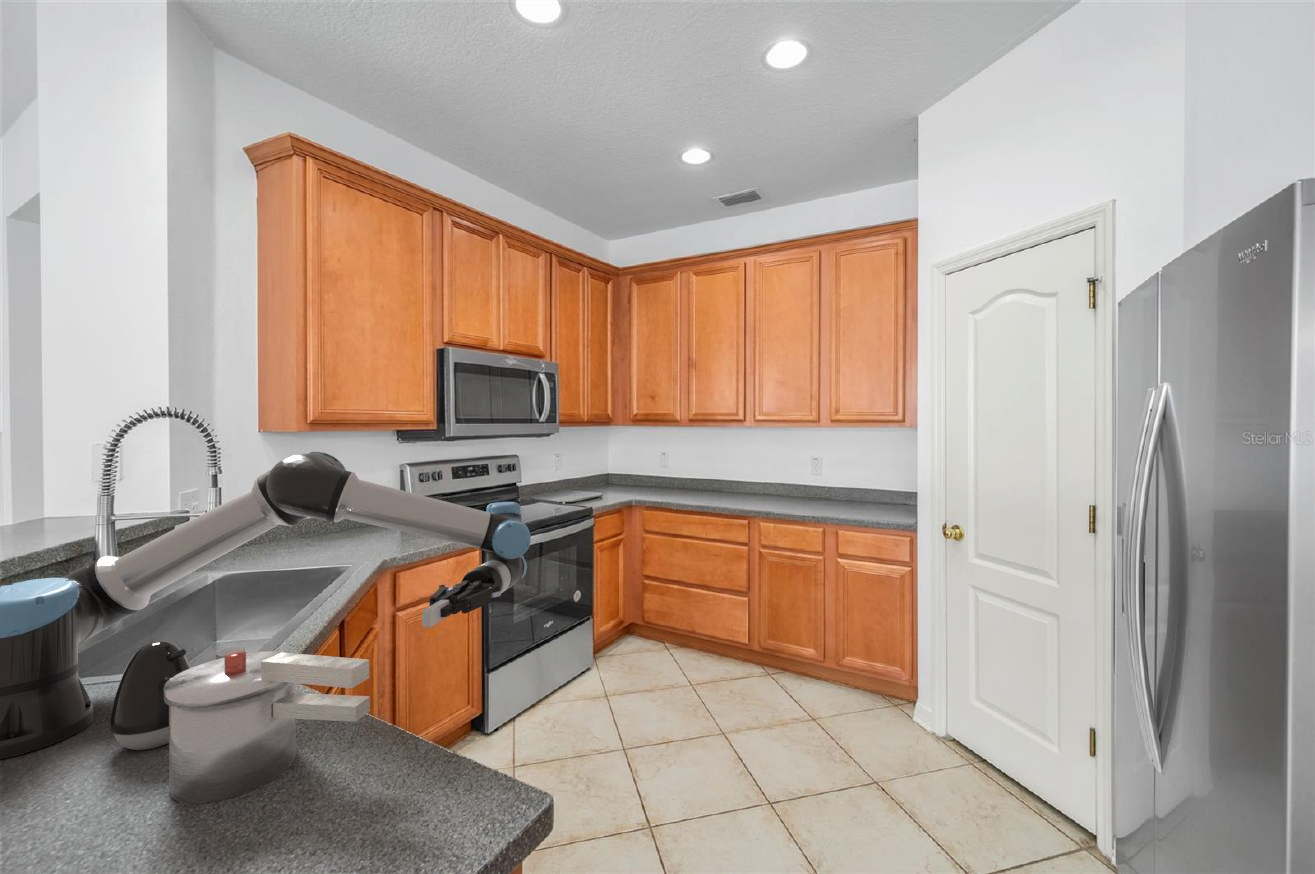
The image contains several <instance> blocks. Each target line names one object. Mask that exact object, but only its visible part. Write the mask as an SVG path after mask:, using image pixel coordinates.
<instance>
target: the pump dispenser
mask: <svg viewBox="0 0 1315 874" xmlns="http://www.w3.org/2000/svg"><path fill="white" fill-rule="evenodd" d="M186 654H187V650H186V648H181V649H180V647H178V646H177V645H176V644H175V643H173V642H171V641H167V640H157V641H152V642H150V643H147V644H144V645H143V646H141V647H140V648H139V649H138V650H137V651H136V652H135V653H134V655H133V656H132V657H131V659H130V660H129V661H128V664H127V665H126V667H125V669H124V671H123V673H122V676H121V679H120V681H119V684H118V687H117V689H116V693H115V695H114V699H113V702H112V703H113V704H112V708H111V713H110V720H109V730H110V732H111V733H112V734H113V736H114V739H115V740H116V742H117V743H118V744H119V746H121V747H124V748H125V749H129V750H134V751H143V750H144V751H145V750H151V749H152V750H153V749H155V748H158V747H159V748H160V747H162V746H165V745H168V744H169V705H167V704H166V703H165V702H164V685H165V684H166V682H167V681H168V680H170V679H171V678H172V677H174V676H176V675H177V674H179V673H181V672H183V671H185V670H188V669H190V668H191V666H190V663H189V661H188V659H187V657H186Z"/></svg>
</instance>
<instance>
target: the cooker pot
mask: <svg viewBox="0 0 1315 874" xmlns="http://www.w3.org/2000/svg"><path fill="white" fill-rule="evenodd" d="M369 712H371V697H370V695H369V696H368V695H347V694H330V693H329V694H327V693H323V694H322V693H304V692H303V693H301V692H296V683H289V682H288V683H287V684H285V685H283V686H282V687H280V688H277V689H275V690H273V691H271V692H268V693H265V694H263V695H260V696H257V697H254V698H250V699H247V700H243V701H239V702H235V703H231V704H226V705H220V706H214V707H205V708H177V707H172V706H169V743H168V753H169V754H168V758H169V759H168V760H169V761H168V765H169V766H168V772H169V773H168V783H169V785H168V786H169V787H168V788H169V789H168V791H169V796H170V798H171V799H173V800H174V801H177V802H178V803H182V804H192V805H193V804H195V805H196V804H206V803H207V804H208V803H214V802H218V801H223V800H227V799H231V798H235V797H238V796H241V795H243V794H246V793H249V792H251V791H254V790H257V789H259V788H260V786H261V787H263V786H264V785H267V784H269V783H270V782H272V781H274V780H276V779H277V778H278V777H280V776H281V775H283V774H284V773H285V772H286V771H288V769H289V768H290V767H291V766H292V765H293V764H294V762H295V760H296V755H297V754H296V753H297V752H296V751H297V749H296V747H297V746H296V745H297V742H296V741H297V739H296V737H297V736H296V729H297V728H296V724H297V723H296V721H297V720H299V719H300V720H314V721H316V720H317V721H333V722H335V721H337V722H351V723H352V722H353V723H354V722H355V723H356V722H358V721H359V720H360V719H362V718H363V717H364V716H365V715H367V713H369ZM296 719H297V720H296ZM284 771H285V772H284ZM271 780H272V781H271Z"/></svg>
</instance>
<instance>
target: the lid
mask: <svg viewBox="0 0 1315 874" xmlns="http://www.w3.org/2000/svg"><path fill="white" fill-rule="evenodd" d="M369 678H370V659H367V658H356V657H344V656H342V657H341V656H340V657H339V656H332V655H321V654H320V655H318V654H308V653H307V654H304V653H292V652H288V651H277V650H275V651H274V650H273V651H271V650H270V651H257V652H256V651H255V652H249V653H247V652H246V650H245V651H238V652H233V653H229V654H227V655H225V658H221V659H217V660H216V659H214V660H211V661H207V662H204V663H200V664H198V665H196V666H195V665H194V666H193V667H190V669H188V670H185V671H183V672H181V673H179V674H177V675H176V676H174V677H172V678H171V679H170V680H168V681H167V682H166V684H165V685H164V702H165V703H166V704H167V705H169V706H172V707H177V708H205V707H214V706H220V705H226V704H231V703H235V702H239V701H243V700H247V699H250V698H254V697H257V696H260V695H263V694H265V693H268V692H271V691H273V690H275V689H277V688H280V687H282V686H283V685H285V684H287V683H288V682H289V683H295V684H299V685H300V684H302V685H310V686H311V685H312V686H321V687H323V686H324V687H330V688H331V687H333V688H343V689H344V688H345V689H354V688H355V687H357V686H358V685H360V684H362V683H364V682H365V681H367V680H368V679H369Z"/></svg>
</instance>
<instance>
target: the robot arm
mask: <svg viewBox="0 0 1315 874" xmlns="http://www.w3.org/2000/svg"><path fill="white" fill-rule="evenodd" d="M521 516H522V513H521V506H520V504H519V503H518V502H515V501H501V502H500V501H499V502H497V501H496V502H491V503H488V505H487V506H486V511H484V510H481V509H477V508H472V507H468V506H466V505H465V506H464V505H462V504H457V503H453V502H449V501H446V500H441V499H436V498H433V497H431V496H430V497H429V496H425V495H421V494H418V493H414V492H410V491H405V490H401V489H398V488H395V487H394V488H393V487H389V486H386V485H383V484H378V483H374V482H370V481H368V480H367V481H366V480H362V479H359V478H358V476H357V475H356V473H355V472H352V471H349V470H347V469H346V467H345V466H344V464H343V463H342V461H340V460H339V459H338V458H336V457H335V456H333V455H331V454H329V453H327V452H323V451H310V452H305V453H297V454H292V455H289V456H287V457H284V458H283V459H281V460H280V461H278V462H277V463H276V464H275V465H274V466H273V467H272V468H271V469H270V470H268V471H267V472H265V473H263V474H261V475H258V476H257V477H255V479H254V483H253V487H252V488H251V489H249V490H246V491H245V492H243V493H241V494H239V495H237V496H235V497H234V498H231V499H230V500H228V501H226V502H224V503H222V504H220V505H218V506H216V507H214V508H212V509H211V510H208V511H206V512H205V513H203V514H201V515H199V516H197V517H195V518H193V519H192V520H189V521H187V522H185V523H184V524H181V525H180V526H178V527H175V528H173V529H172V530H170V531H168V532H166V533H164V534H162V535H160V536H158V537H157V538H155V539H152V540H150V541H149V542H147V543H145V544H143V545H141V546H139V547H137V548H136V549H134V550H132V551H130V552H128V553H126V554H124V555H122V556H115V555H103V556H102V557H99V558H98V559H95V560H94V561H92V562H90V563H88V564H86V565H83V566H82V567H80V568H78V569H76V570H74V571H72V572H70V573H69V574H67V575H64V576H62V577H45V578H35V579H28V580H23V581H18V582H13V584H8V585H2V586H0V760H3V759H8V758H13V757H16V756H20V755H23V754H27V753H30V752H33V751H36V750H40V749H43V748H46V747H49V746H51V745H54V744H56V743H59V742H62V741H63V740H66V739H69V738H70V737H73V736H74V735H76V734H78V733H80V732H81V731H83V730H85V729H86V728H87V727H88V726H90V725H91V724H92V722H93V721H94V704H93V702H92V701H91V699H90V696H89V694H88V692H87V691H86V689H85V686H84V683H82V680H81V678H80V676H79V645H80V644H81V643H84V642H85V641H87V640H90V639H91V638H92V637H94V636H96V635H98V634H100V633H102V632H104V631H107V630H109V629H111V628H112V627H114V626H116V625H117V624H119V623H120V622H121V621H124V619H126V618H129V617H130V616H133V615H134V614H136V613H137V612H139V611H141V610H143V609H144V608H146V607H147V606H148V605H149V602H150V599H151V597H152V595H153V594H155V593H156V592H159V591H160V590H162V589H164V588H166V587H167V586H170V585H172V584H173V583H175V582H177V581H179V580H180V579H182V578H184V577H186V576H188V575H190V574H191V573H193V572H195V571H196V570H199V569H201V568H202V567H204V566H205V565H208V564H210V563H211V562H213V561H215V560H218V559H219V558H220V557H222V556H224V555H226V554H228V553H229V552H232V551H234V550H235V549H237V548H238V547H241V546H242V545H244V544H246V543H249V541H251V540H253V539H255V538H257V537H259V536H261V535H263V534H264V533H266V532H268V531H269V530H272V529H274V528H275V527H277V526H279V525H280V526H281V525H282V526H287V527H293V526H295V525H297V524H298V523H300V522H302V521H304V520H306V519H307V518H313V519H318V520H323V521H329V522H333V523H339V522H341V521H343V520H348V521H349V520H350V521H353V522H354V521H355V522H357V523H363V524H367V525H372V526H377V527H379V528H380V527H381V528H385V529H390V530H394V531H398V532H402V533H403V532H404V533H408V534H412V535H417V536H420V537H426V538H430V539H435V540H439V541H443V542H448V543H452V544H457V545H462V546H465V547H466V546H467V547H470V548H475V549H478V550H481V551H485V552H486V562H484V563H482V564H480V565H478V566H476V567H474V568H473V569H471V570H470V571H468V572H467V573H466V574H465V575H464V576H463V577H462V580H461V582H459V583H456V584H454V585H453V586H452V587H449V585H445V584H441V585H438V589H437V590H436V591H435V592H434V593H433V594H432V595H431V596H430V597H429V604H428V605H429V606H428V607H426V608H424V609H423V610H421V627H422V628H432V627H433V626H434V625H436V624H438V623H439V622H441V621H443V620H444V619H445V618H447V617H449V616H451V615H457V614H458V613H460V612H461V614H468V613H470V612H473V611H475V610H477V609H479V608H481V607H483V606H487V605H488V604H490V603H491V604H492V603H494V602H497V601H501V595H502V593H504V592H506V591H507V590H509V589H510V588H512V587H514V586H515V585H517V584H518V583H520V582H521V580H522V579H523V578H524V577H525V575H526V574H527V573H526V572H527V568H528V563H527V560H526V557H525V556H523V555H524V554H525V553H527V551H528V550H529V548H530V546H531V542H532V540H531V532H530V530H529V527H528V526H527V524H526V523H525V522H523V521H522V520H521V518H522V517H521Z"/></svg>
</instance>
